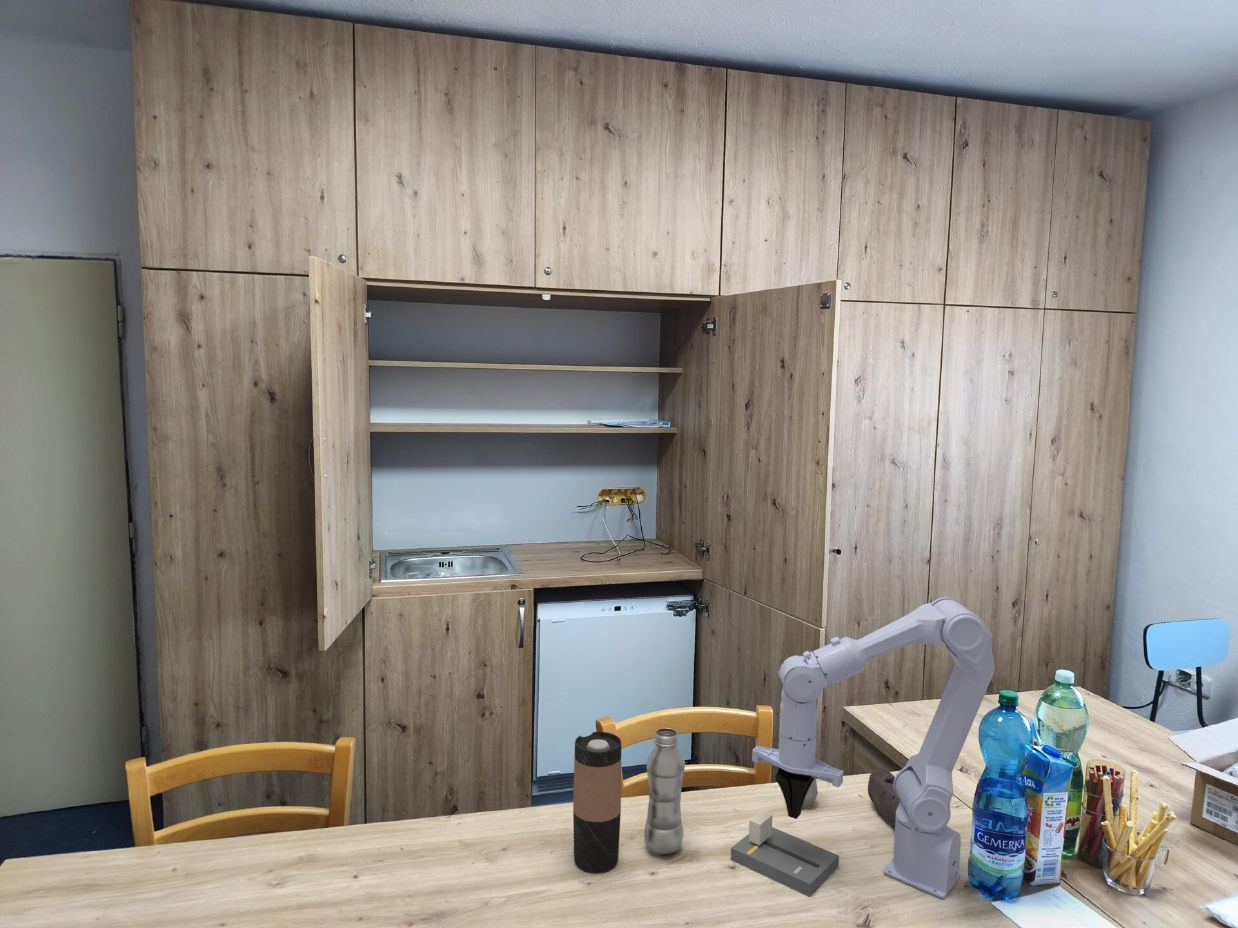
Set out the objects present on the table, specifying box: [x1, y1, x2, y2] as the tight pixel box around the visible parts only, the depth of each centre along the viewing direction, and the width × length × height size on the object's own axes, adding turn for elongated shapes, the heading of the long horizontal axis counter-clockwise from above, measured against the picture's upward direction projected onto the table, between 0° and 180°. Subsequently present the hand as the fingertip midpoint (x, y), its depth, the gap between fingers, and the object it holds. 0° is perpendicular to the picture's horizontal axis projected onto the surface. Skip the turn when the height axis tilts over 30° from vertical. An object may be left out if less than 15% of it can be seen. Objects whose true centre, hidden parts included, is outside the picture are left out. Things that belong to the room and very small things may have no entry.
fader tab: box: [748, 810, 773, 845], centre depth 129 cm, size 2×4×4 cm, turn 139°
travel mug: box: [572, 731, 622, 874], centre depth 125 cm, size 8×8×20 cm
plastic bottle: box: [643, 727, 686, 856], centre depth 129 cm, size 6×7×20 cm
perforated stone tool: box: [867, 769, 900, 829], centre depth 138 cm, size 15×5×7 cm, turn 6°
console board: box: [730, 826, 840, 898], centre depth 126 cm, size 14×10×2 cm
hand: (794, 814), depth 125 cm, fingers closed
